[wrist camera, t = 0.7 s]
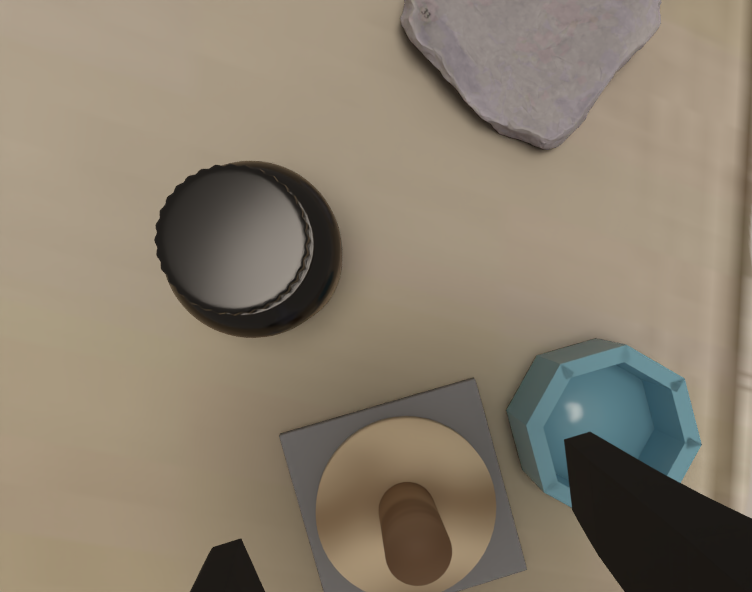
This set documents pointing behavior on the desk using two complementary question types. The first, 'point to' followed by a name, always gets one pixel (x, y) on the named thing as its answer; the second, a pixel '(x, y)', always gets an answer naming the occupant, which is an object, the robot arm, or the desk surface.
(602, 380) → the bowl
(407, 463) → the lid
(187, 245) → the supplement bottle
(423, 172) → the desk surface
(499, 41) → the stone block
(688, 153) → the desk surface
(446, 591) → the mat
